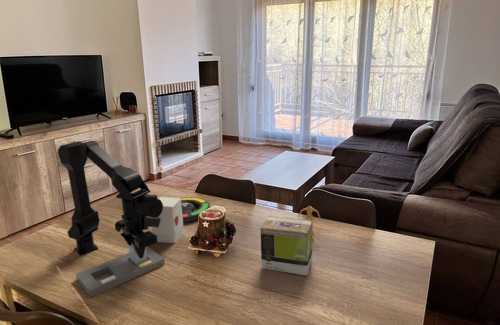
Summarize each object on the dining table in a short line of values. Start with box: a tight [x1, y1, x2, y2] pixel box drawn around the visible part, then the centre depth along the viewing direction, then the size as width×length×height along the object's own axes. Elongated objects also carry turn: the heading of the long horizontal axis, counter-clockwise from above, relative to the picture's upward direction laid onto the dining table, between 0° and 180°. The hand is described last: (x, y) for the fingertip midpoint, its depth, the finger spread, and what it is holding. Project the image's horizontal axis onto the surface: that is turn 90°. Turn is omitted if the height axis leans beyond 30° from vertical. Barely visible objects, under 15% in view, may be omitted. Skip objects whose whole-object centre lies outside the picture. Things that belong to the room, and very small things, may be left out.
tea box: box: [259, 215, 314, 277], centre depth 115 cm, size 15×10×15 cm, turn 71°
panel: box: [75, 246, 166, 298], centre depth 115 cm, size 12×24×3 cm, turn 133°
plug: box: [128, 244, 147, 265], centre depth 118 cm, size 4×4×8 cm
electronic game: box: [180, 196, 211, 223], centre depth 159 cm, size 23×23×5 cm
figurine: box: [297, 205, 321, 238], centre depth 134 cm, size 8×6×12 cm
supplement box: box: [151, 196, 185, 244], centre depth 135 cm, size 9×9×15 cm
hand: (138, 255), depth 118 cm, fingers closed on plug, 4 cm apart
